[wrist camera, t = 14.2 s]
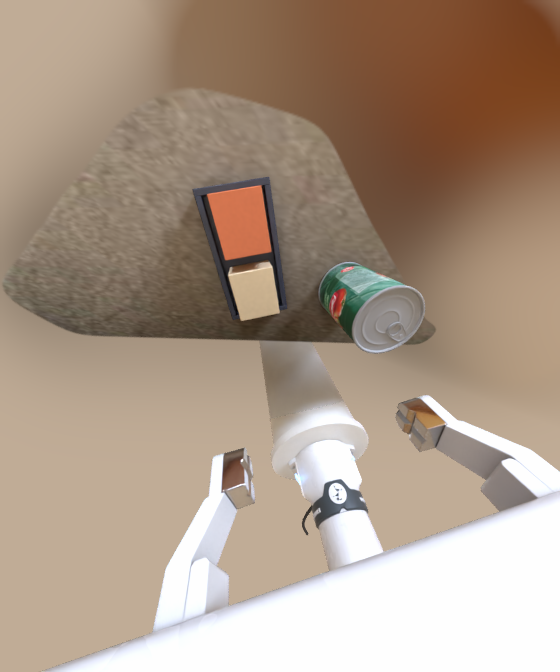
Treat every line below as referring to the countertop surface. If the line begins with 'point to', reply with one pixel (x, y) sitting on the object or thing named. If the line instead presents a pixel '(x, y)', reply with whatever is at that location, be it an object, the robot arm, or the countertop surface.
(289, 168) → the countertop surface
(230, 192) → the orange block
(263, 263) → the cream block
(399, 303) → the canned tomato
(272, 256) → the frame
